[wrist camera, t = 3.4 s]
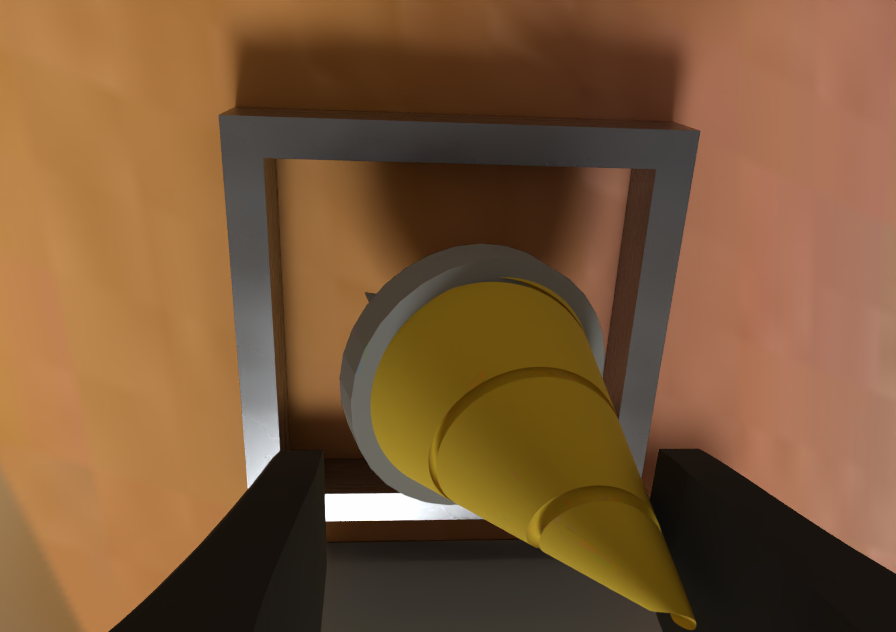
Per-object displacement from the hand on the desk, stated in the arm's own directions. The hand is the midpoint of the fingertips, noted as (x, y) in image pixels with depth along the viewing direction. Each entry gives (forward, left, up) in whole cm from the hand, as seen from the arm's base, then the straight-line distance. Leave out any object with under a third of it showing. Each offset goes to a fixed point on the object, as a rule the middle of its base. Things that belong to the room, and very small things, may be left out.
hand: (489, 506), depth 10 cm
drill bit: (+1, 0, -8) cm, 8 cm away
